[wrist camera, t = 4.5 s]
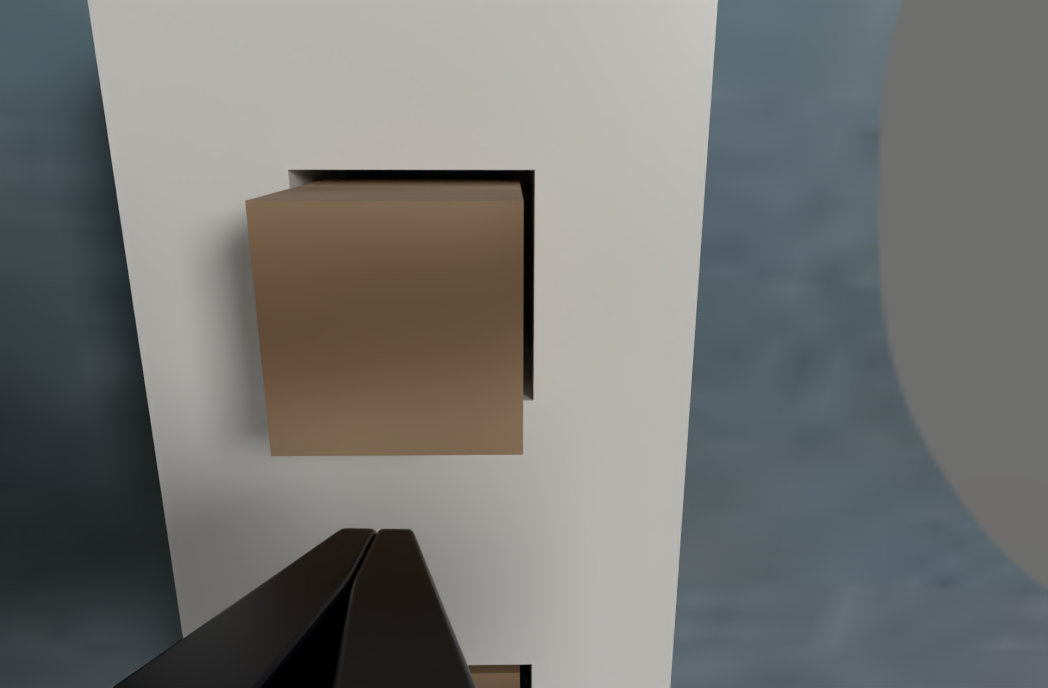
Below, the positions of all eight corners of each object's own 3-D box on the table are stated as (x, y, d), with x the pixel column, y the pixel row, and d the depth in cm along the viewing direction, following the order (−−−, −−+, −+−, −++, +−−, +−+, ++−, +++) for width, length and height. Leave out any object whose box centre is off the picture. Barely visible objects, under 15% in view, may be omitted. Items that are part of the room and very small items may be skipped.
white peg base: (622, 745, 27) (654, 915, 21) (287, 750, 26) (225, 923, 21) (657, 25, 20) (718, -18, 14) (208, 22, 20) (84, -22, 14)
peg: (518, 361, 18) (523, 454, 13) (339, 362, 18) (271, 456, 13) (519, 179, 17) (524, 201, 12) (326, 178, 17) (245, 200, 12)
